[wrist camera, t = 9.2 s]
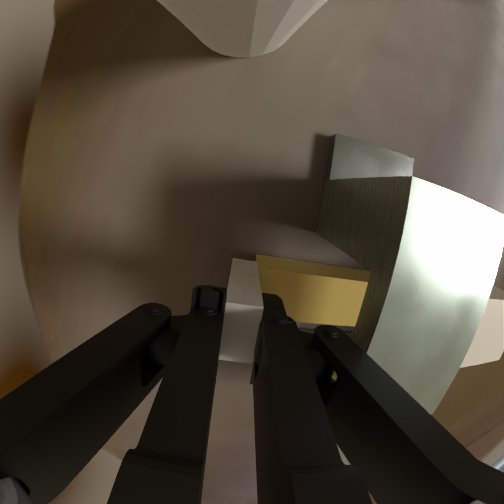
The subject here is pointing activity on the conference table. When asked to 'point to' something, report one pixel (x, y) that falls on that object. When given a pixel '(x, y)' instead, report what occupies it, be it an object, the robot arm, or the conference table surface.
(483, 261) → the housing
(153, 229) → the conference table surface
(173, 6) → the cup
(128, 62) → the conference table surface
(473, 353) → the plug
